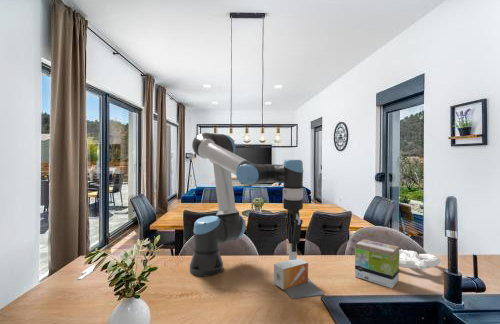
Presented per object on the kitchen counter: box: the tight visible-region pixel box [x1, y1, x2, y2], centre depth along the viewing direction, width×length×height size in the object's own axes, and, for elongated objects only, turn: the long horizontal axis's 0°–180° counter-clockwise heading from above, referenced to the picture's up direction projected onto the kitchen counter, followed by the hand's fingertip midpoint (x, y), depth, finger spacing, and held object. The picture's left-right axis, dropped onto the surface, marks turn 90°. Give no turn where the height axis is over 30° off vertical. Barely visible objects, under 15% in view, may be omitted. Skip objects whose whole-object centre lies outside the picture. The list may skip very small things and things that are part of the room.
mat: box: [284, 277, 325, 299], centre depth 102 cm, size 15×13×1 cm
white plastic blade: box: [77, 264, 100, 280], centre depth 115 cm, size 5×15×1 cm, turn 0°
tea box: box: [354, 238, 400, 289], centre depth 110 cm, size 15×10×15 cm, turn 47°
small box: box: [273, 257, 309, 291], centre depth 105 cm, size 8×6×13 cm
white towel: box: [399, 248, 441, 271], centre depth 125 cm, size 28×24×6 cm
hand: (292, 258), depth 102 cm, fingers closed
